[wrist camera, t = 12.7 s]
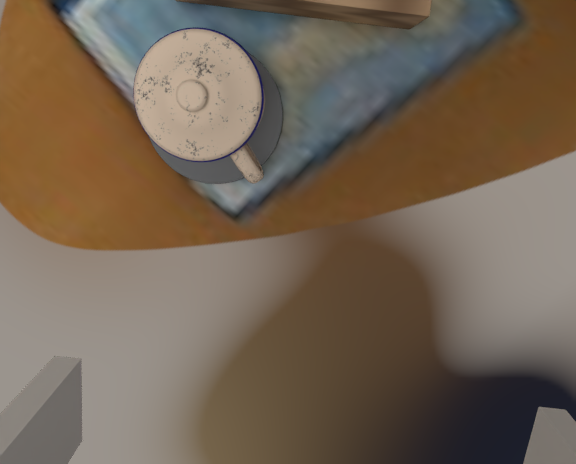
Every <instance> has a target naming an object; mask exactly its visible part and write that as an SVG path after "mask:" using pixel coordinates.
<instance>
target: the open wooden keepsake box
mask: <svg viewBox="0 0 576 464" xmlns="http://www.w3.org/2000/svg"><path fill="white" fill-rule="evenodd" d="M176 1H181V2H189V3H197V4H206V5H214V6H222V7H230V8H238V9H247V10H255V11H263V12H271V13H279V14H288V15H296V16H304V17H312V18H320V19H329V20H337V21H345V22H353V23H361V24H370V25H378V26H386V27H394V28H402V29H411V28H412V27H414V26H415V25H417V24H418V23H420V22H421V21H423V20H424V19H426V18H427V17H429V14H430V8H431V2H432V0H176Z"/></svg>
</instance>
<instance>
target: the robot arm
mask: <svg viewBox="0 0 576 464" xmlns="http://www.w3.org/2000/svg"><path fill="white" fill-rule="evenodd" d="M81 384H82V376H81V359H79V358H69V357H60V356H54V357H53V358H52V359H51V360H50V361H49V362H48V363H47V365H46V366H45V367H44V368H43V369H42V370H41V371H40V372H39V373H38V374H37V375H36V376H35V377H34V378H33V379H32V381H31V382H30V383H29V384H28V385H27V386H26V387H25V388H24V389H23V390H22V391H21V392H20V393H19V394H18V395H17V396H16V397H15V398H14V400H13V401H12V402H11V403H10V404H9V405H8V406H7V407H6V408H5V409H4V410H3V411H2V412H1V413H0V464H68V462H69V460H70V459H71V457H72V456H73V454H74V453H75V451H76V449H77V448H78V446H79V445H80V443H81V442H82V388H81V387H82V385H81ZM523 464H576V422H575V421H574V420H573V418H572V417H571V416H570V415H569V413H568V412H567V411H566V410H563V409H554V408H544V407H539V408H538V412H537V415H536V419H535V423H534V426H533V430H532V434H531V437H530V441H529V445H528V448H527V453H526V456H525V460H524V463H523Z"/></svg>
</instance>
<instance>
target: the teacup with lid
mask: <svg viewBox="0 0 576 464" xmlns="http://www.w3.org/2000/svg"><path fill="white" fill-rule="evenodd" d="M133 96H134V105H135V109H136V113H137V116H138V119H139V121H140V123H141V125H142V127H143V129H144V130H145V132H146V133H147V135H148V136H149V137H150V138H151V140H152V141H153V142H154V143H155V144H156V145H157V146H159V147H160V148H161V149H162V150H164V151H165V152H167V153H169V154H170V155H172V156H174V157H177V158H179V159H182V160H186V161H191V162H212V161H216V160H220V159H223V158H225V157H228V156H230V157H231V158H232V160H233V161H234V163H235V164H236V166H237V167H238V169H239V170H240V172H241V173H242V174H243V176H244V177H245V178H246V179H247V180H248V181H249V182H250V183H257V182H258V181H260V180H261V179H262V178H263V176H264V174H263V170H262V167H261V165H260V163H259V161H258V159H257V158H256V156H255V154H254V152H253V151H252V149H251V148H250V146H249V144H248V143H247V142H248V141H249V139H250V138H251V137H252V135H253V134H254V132H255V130H256V129H257V127H258V126H259V124H260V121H261V119H262V116H263V112H264V107H265V95H264V89H263V84H262V80H261V77H260V74H259V71H258V69H257V66H256V65H255V63H254V61H253V60H252V58H251V57H250V55H249V54H248V53H247V51H246V50H245V49H244V48H243V47H242V46H241V45H240V44H238V43H237V42H236V41H235V40H233V39H232V38H230V37H228V36H227V35H225V34H223V33H220V32H218V31H215V30H211V29H206V28H186V29H181V30H177V31H174V32H172V33H170V34H168V35H166V36H164V37H162V38H161V39H160V40H158V41H157V42H156V43H155V44H154V45H152V46H151V47H150V49H149V50H148V51H147V52H146V54H145V55H144V57H143V58H142V60H141V62H140V64H139V66H138V69H137V72H136V75H135V80H134V88H133Z"/></svg>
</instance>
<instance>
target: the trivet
mask: <svg viewBox="0 0 576 464" xmlns="http://www.w3.org/2000/svg"><path fill="white" fill-rule="evenodd" d="M247 53H248V52H247ZM248 54H249V53H248ZM249 55H250V57H251V58H252V60H253V61H254V63H255V65H256V66H257V69H258V71H259V74H260V77H261V80H262V84H263V89H264V95H265V107H264V112H263V116H262V119H261V121H260V124H259V126H258V127H257V129H256V130H255V132H254V134H253V135H252V137H251V138H250V139H249V141H248V142H247V143H248V144H249V146H250V148H251V149H252V151H253V152H254V154H255V156H256V158H257V159H258V161H259V163H260V165H262V164H263V163H264V162H265V161H266V160H267V159H268V158H269V156H270V155H271V153H272V152H273V150H274V148H275V146H276V144H277V142H278V139H279V136H280V132H281V127H282V115H283V113H282V103H281V99H280V94H279V92H278V89H277V86H276V84H275V82H274V80H273V78H272V77H271V75H270V74H269V72H268V71H267V69H266V68H265V67H264V66H263V65H262V64H261V63H260V62H259V61H258V60H257V59H256V58H255V57H254V56H252V55H251V54H249ZM149 138H150V137H149ZM150 140H151V138H150ZM151 142H152V144H153V146H154V148H155V150H156V151H157V153H158V154H159V155H160V157H161V158H162V159H163V160H164V161H165V162H166V163H167V164H168V165H169V166H170V167H171V168H173V169H174V170H175V171H176V172H178V173H180V174H181V175H183V176H185V177H187V178H190V179H192V180H195V181H198V182H203V183H210V184H221V183H228V182H233V181H236V180H239V179H242V178H244V176H243V174H242V173H241V172H240V170H239V169H238V167H237V166H236V164H235V163H234V161H233V160H232V158H231V157H230V156H228V157H225V158H223V159H220V160H216V161H212V162H191V161H186V160H182V159H179V158H177V157H174V156H172V155H170V154H169V153H167V152H165V151H164V150H162V149H161V148H160V147H159V146H157V145H156V144H155V143H154V142H153V141H152V140H151Z"/></svg>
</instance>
